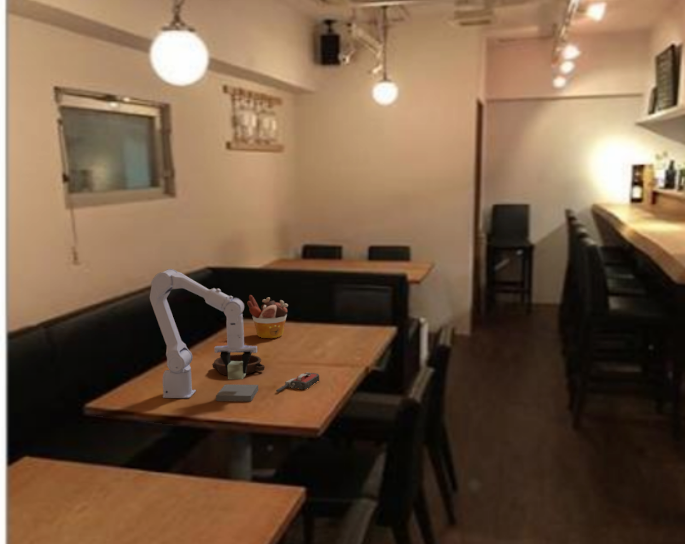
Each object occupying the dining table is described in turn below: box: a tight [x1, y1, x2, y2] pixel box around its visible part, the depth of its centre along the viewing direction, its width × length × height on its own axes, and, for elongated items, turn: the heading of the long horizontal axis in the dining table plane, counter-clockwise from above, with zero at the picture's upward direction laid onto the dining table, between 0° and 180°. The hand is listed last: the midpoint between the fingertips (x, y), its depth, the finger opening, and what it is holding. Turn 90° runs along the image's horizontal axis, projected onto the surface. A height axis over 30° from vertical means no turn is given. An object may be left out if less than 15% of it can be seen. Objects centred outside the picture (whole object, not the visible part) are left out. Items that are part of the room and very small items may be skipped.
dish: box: [211, 353, 266, 376], centre depth 261 cm, size 17×22×5 cm
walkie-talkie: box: [275, 372, 320, 393], centre depth 241 cm, size 9×4×20 cm
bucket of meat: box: [246, 294, 289, 339], centre depth 317 cm, size 20×16×20 cm
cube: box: [227, 361, 247, 380], centre depth 230 cm, size 5×5×5 cm
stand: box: [215, 384, 259, 402], centre depth 232 cm, size 12×12×2 cm
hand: (236, 372), depth 231 cm, fingers closed on cube, 5 cm apart
